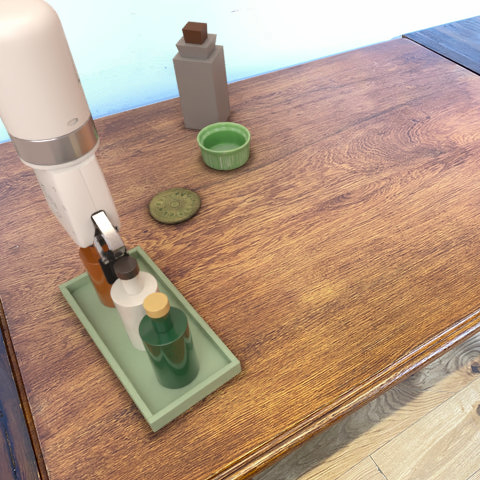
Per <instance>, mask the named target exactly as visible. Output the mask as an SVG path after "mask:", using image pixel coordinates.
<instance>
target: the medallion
mask: <svg viewBox="0 0 480 480" xmlns="http://www.w3.org/2000/svg"><path fill="white" fill-rule="evenodd" d="M201 203H202V202H201V197H200V196H199V194H198V193H196V191H195V192H194V191H193V190H190V189H188V188H184V187H183V188H182V187H176V188H175V187H173V188H170V189H167V190H163V191H160V192H158V193H157V194H156V195H154V196H153V197H152V199H151V200H150V201H149V204H148V212H149V213H150V215H151V217H152V218H153V219H154V220H155V221H157V222H159V223H162V224H165V225H175V224H179V223H182V222H185V221H187V220H189V219H190V218H191V217H193V216H195V214H196V213H197V212H198V211H199V209H200V207H201Z"/></svg>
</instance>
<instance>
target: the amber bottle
mask: <svg viewBox="0 0 480 480" xmlns="http://www.w3.org/2000/svg"><path fill="white" fill-rule="evenodd" d="M98 234H101V233H100V232H99V230H98V229H97V228H95V234H94V236H96V235H98ZM121 239H122V241H123V243H124V244H125V241H124V239H123V238H122V237H121ZM99 243H100V245H101V247H102V249H103V250H104V252H106V251H108V250H109V248H108V245H107V243H106V241H105V240H104V239H102V240H100V241H99ZM78 257H79V259H80V261H81V263H82V265H83V268H84V270H85V272H87V274H88V276H89V279H90V281H91V283H92V285H93V288H94V290H95V292H96V294H97V296H98V299H99V301H100V302H101V303H102V304H103V305H104V306H106V307H110V308H116V307H115V305H114V303H113V300H112V298H111V288H112V286H113V284H112V285H110V284H109V283H108V282H107V281H106V278H105V276H104V273H103V271H102V269H101V266H100V264H99V261H98V260H99V259H100V257H99V255H98V253H97V251H96V249H95V248H94V246H93V244H92V245H90V246H88V247H86V248H82V247H79V250H78Z"/></svg>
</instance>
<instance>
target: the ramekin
mask: <svg viewBox="0 0 480 480" xmlns="http://www.w3.org/2000/svg"><path fill="white" fill-rule="evenodd" d="M251 136H252V135H251V132H250V131H249V129H248V128H247V127H246V126H244V125H242V124H240V123H236V122H232V121H231V122H230V121H226V122H220V123H215V124H211V125H209V126H207V127H205V128H203V129H202V130H199V132H198V133H197V136H196V142H197V144H198V146H199V149H200V154H201V157H202V161H203V162H204V164H205V165H206V166H208V167H209V168H211V169H214V170H218V171H231V170H235V169H239V168H240V167H242V166H243V165H245V164H246V163H247V162H248V160H249V157H250V143H251V138H252V137H251Z"/></svg>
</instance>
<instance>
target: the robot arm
mask: <svg viewBox="0 0 480 480" xmlns="http://www.w3.org/2000/svg"><path fill="white" fill-rule="evenodd" d="M0 120H1V123H2V124H3V126H4V128H5V130H6V132H7V135H8V137H9V139H10V141H11V143H12V145H13V147H14V150H15V151H16V153H17V156H18V158H19V159H20V161H21V163H22V164H24V166H27V167H29V168H31V169H32V170H33V172H34V175H35V177H36V179H37V182H38V184H39V187H40V189H41V192H42V194H43V197H44V199H45V201H46V204H47V206H48V207H49V210H50V211H51V213H52V214H53V216H54V217H55V218H56V220H57V221H58V222H59V224H60V225H61V226H62V228H63V229H64V230H65V232H66V233H67V234H68V235H69V237H70V238H71V240H72V241H73V243H75V245H77V247H79V248H80V247H82V248H86V247H88V246H90V245H92V244H93V246H94V248H95V249H96V251H97V253H98V255H99V257H100V259H99V260H98V261H99V264H100V266H101V269H102V271H103V273H104V276H105V278H106V281H107V282H108V283H109V284H110V285H112V284H114V282H115V281H116V280H117V279H118V277H117V275H116V273H115V270H114V263H115V262H116V261H117V260H118V259H119V258H121V257H125V256H129V253H128V251H129V249H128V248H127V246H126V244H125V242H124V243H123V241H124V240H123V241H122V239H123V238H122V237H121V235H120V234H119V232H120V231H121V229H122V223H121V219H120V215H119V212H118V209H117V206H116V204H115V200H114V198H113V196H112V193H111V190H110V187H109V185H108V183H107V180H106V177H105V175H104V171H103V169H102V168H101V165H100V163H99V160H98V158H97V155H96V154H95V153H96V152H97V150H98V148H100V143H101V141H100V137H99V133H98V129H97V127H96V124H95V121H94V117H93V115H92V112H91V109H90V106H89V103H88V99H87V97H86V94H85V91H84V88H83V84H82V82H81V78H80V75H79V73H78V70H77V66H76V63H75V60H74V57H73V54H72V51H71V48H70V45H69V42H68V39H67V36H66V33H65V30H64V27H63V24H62V22H61V19H60V17H59V14H58V12H57V11H56V10H55V9H54V7H53V6H52V5H51V4H50V3H48V2H47V1H45V0H0ZM95 228H97V229H98V230H99V232H100V233H101V234H98V235H96V236H94V234H95ZM121 238H122V239H121ZM102 239H104V240H105V241H106V243H107V245H108V248H109V250H108V251H106V252H104V250H103V249H102V247H101V245H100V243H99V241H100V240H102Z"/></svg>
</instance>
